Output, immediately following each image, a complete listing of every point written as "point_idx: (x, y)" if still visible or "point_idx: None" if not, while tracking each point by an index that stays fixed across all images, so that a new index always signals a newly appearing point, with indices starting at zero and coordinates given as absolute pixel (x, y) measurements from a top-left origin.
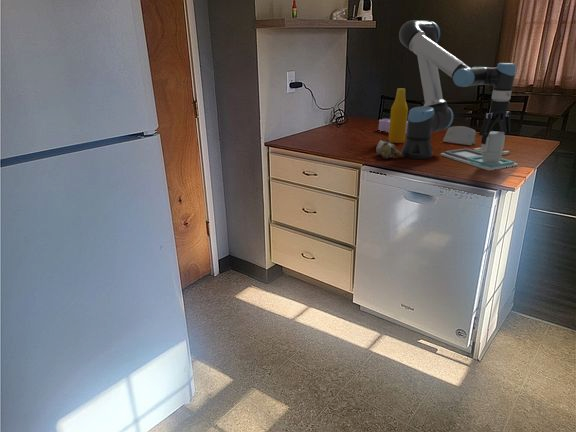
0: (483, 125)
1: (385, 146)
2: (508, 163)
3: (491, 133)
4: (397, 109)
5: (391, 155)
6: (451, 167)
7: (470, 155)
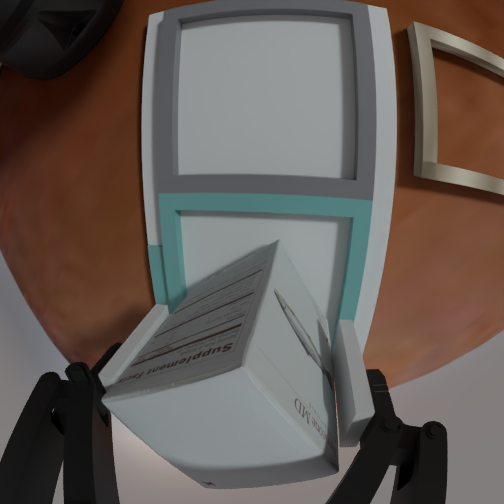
0: (19, 448)
1: None
2: None
3: (154, 441)
4: None
5: None
6: (63, 233)
7: (280, 111)
